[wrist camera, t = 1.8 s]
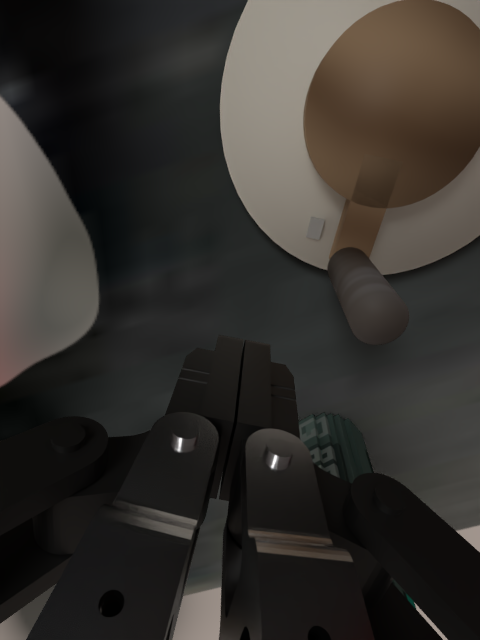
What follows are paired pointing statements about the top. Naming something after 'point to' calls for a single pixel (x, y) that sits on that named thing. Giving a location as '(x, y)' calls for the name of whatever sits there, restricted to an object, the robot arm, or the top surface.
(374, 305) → the brown disc with handle
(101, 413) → the top surface
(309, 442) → the green patterned block
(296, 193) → the dial base
